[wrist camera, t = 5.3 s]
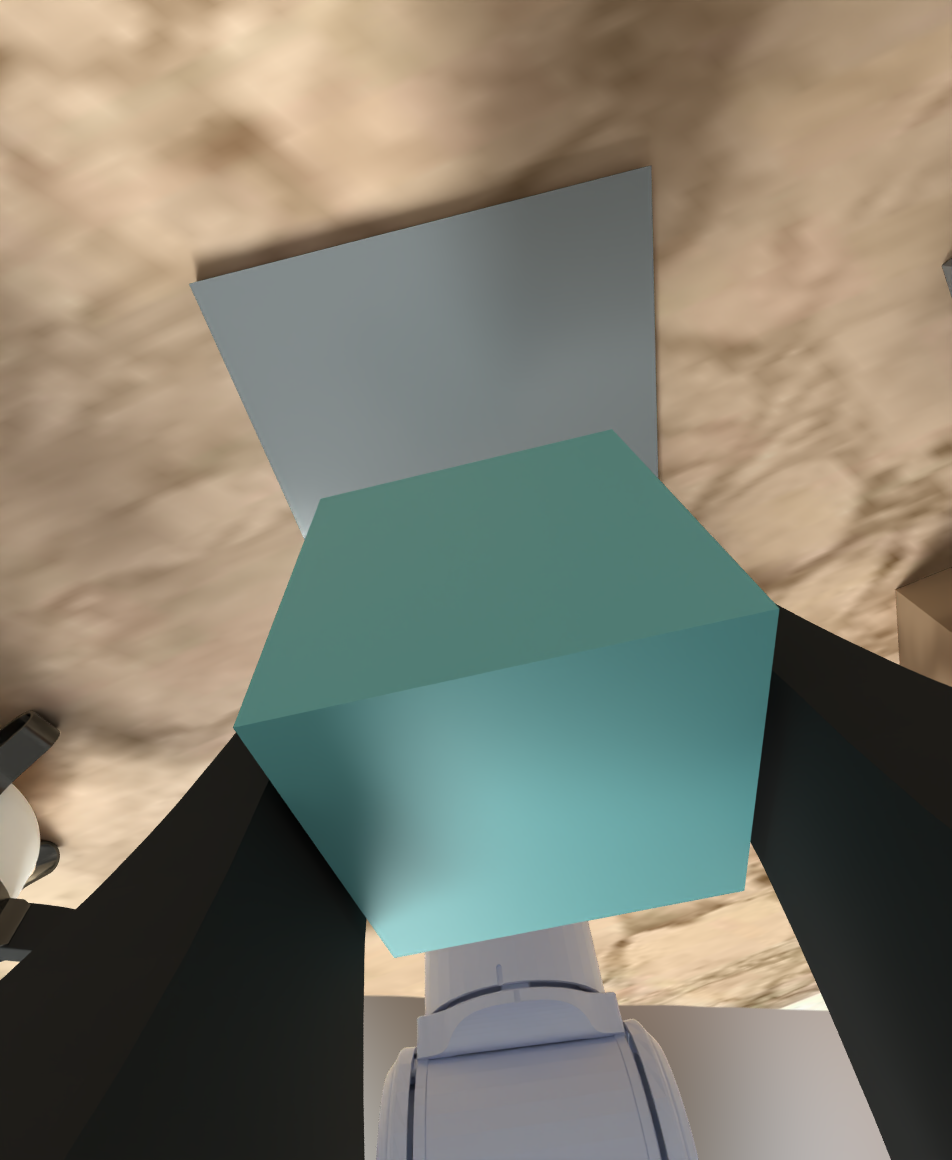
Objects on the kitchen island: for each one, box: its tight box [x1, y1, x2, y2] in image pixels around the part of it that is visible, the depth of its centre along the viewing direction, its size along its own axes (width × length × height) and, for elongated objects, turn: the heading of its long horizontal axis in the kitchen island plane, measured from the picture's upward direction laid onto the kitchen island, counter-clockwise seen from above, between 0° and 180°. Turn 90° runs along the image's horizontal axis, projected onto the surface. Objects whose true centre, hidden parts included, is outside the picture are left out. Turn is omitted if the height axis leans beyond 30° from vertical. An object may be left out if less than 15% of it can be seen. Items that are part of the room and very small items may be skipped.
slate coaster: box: [189, 166, 658, 540], centre depth 17 cm, size 12×12×1 cm
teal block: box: [233, 429, 779, 958], centre depth 8 cm, size 5×5×5 cm
